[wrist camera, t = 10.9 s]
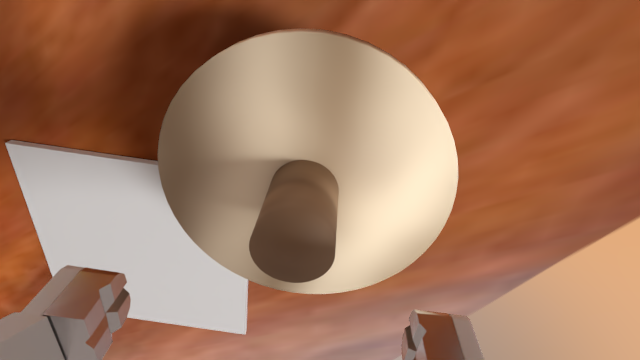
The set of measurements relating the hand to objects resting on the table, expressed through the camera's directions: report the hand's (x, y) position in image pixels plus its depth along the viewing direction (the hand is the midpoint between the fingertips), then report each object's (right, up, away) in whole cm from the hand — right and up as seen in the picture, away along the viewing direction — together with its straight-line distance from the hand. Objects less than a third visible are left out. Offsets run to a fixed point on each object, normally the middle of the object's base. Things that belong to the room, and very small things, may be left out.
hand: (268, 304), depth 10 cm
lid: (+1, +4, +7) cm, 8 cm away
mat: (-12, -2, +18) cm, 21 cm away
